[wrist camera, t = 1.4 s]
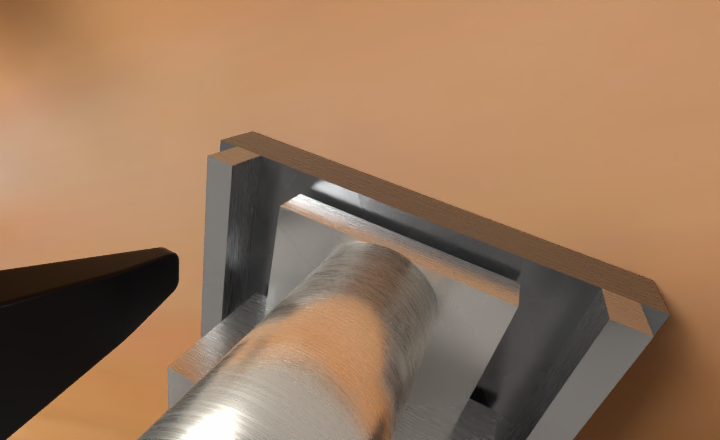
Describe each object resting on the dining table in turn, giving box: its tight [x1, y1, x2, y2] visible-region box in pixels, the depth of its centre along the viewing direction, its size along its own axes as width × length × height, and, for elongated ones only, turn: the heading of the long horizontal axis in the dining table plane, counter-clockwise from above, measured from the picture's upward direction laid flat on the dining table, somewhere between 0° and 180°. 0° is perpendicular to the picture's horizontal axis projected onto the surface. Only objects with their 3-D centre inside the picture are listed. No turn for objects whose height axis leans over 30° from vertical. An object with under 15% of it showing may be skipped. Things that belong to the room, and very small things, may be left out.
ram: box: [137, 194, 520, 440], centre depth 8 cm, size 7×8×7 cm
